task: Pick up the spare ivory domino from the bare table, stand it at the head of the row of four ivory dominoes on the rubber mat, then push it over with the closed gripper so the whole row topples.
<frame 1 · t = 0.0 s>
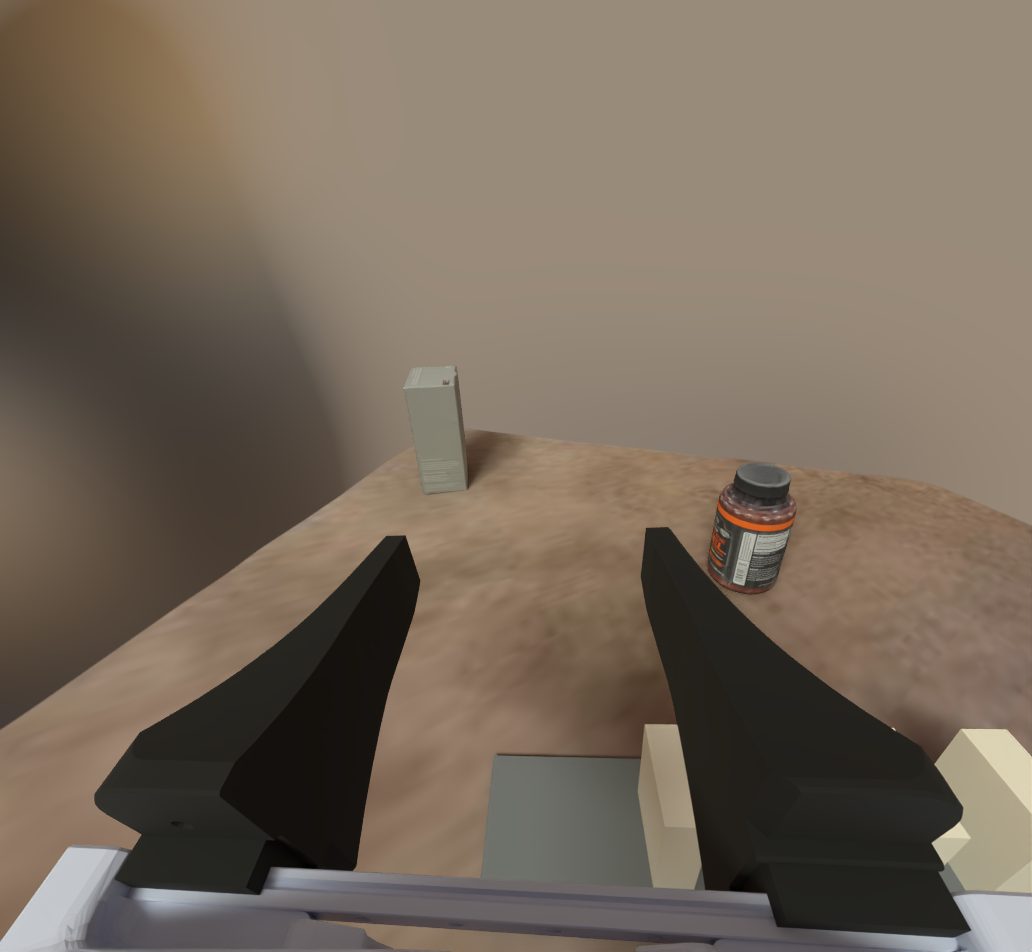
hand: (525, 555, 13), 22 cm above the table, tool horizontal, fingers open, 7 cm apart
mat: (756, 844, 23), on the table
domino 4: (856, 844, 22), resting on mat
supplement bottle: (739, 575, 41), on the table
domino 5: (959, 848, 22), resting on mat
skincare box: (449, 480, 62), on the table
domino 2: (663, 836, 24), resting on mat
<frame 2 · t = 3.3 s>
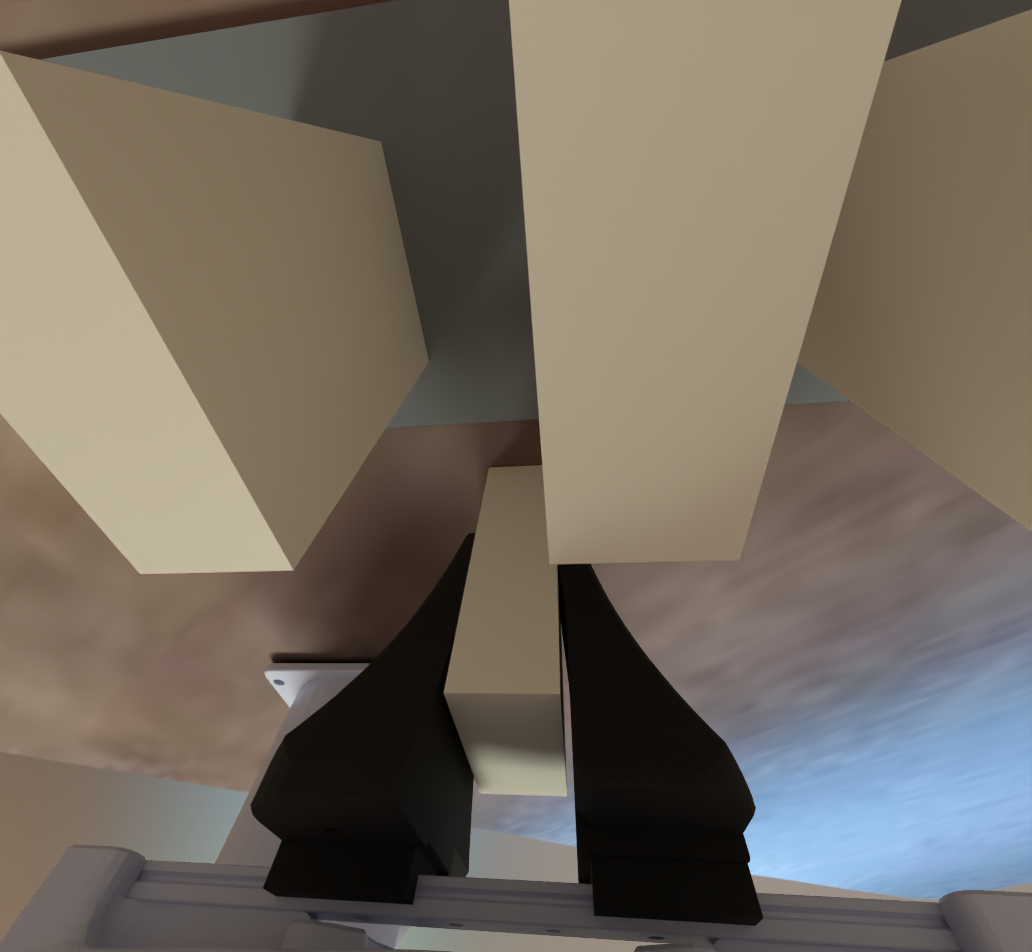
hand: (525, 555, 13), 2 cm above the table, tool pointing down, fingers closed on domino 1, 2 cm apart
mat: (587, 245, 9), on the table
domino 4: (839, 223, 9), resting on mat
domino 3: (589, 248, 9), resting on mat
domino 1: (526, 520, 14), on the table, touching gripper
domino 2: (365, 270, 10), resting on mat
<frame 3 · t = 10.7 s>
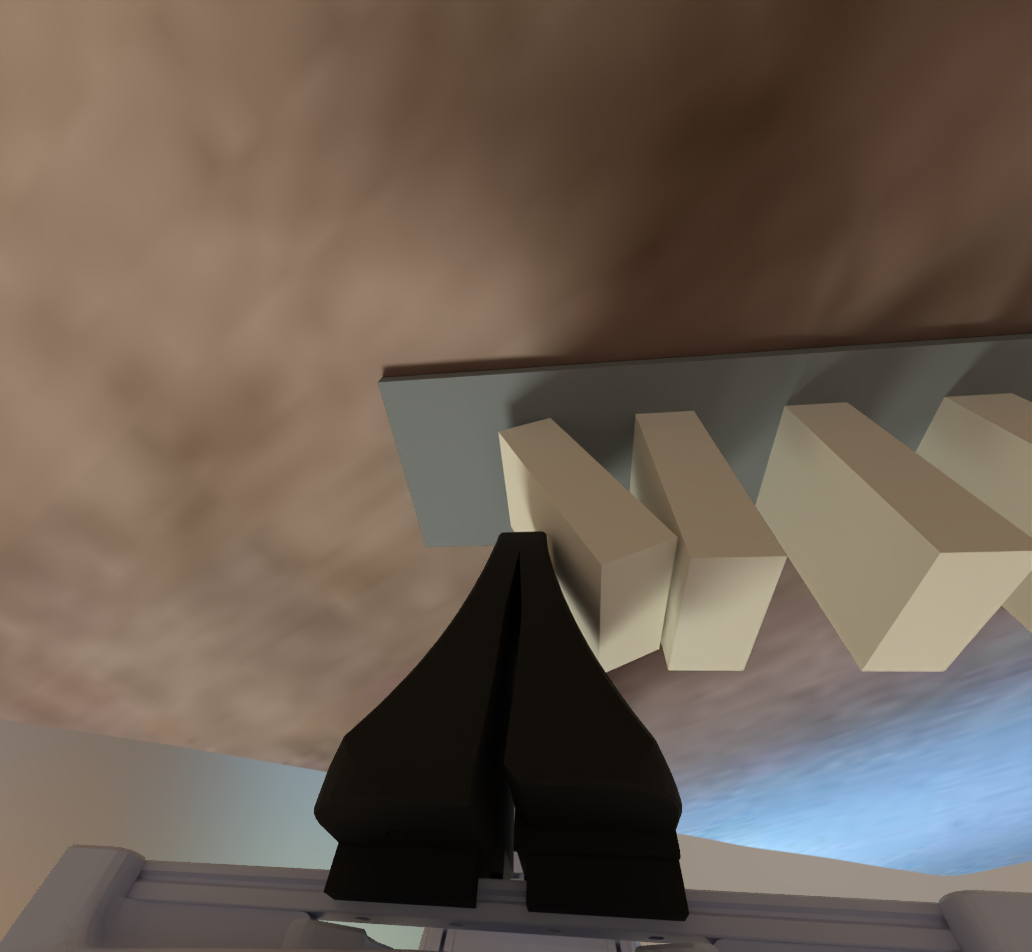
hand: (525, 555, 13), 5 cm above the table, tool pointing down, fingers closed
mat: (791, 452, 16), on the table
domino 4: (945, 451, 15), resting on mat
domino 3: (797, 458, 16), resting on mat
domino 1: (529, 475, 16), point 1 cm above the table, tilted 24°, touching mat
domino 2: (658, 464, 16), resting on mat
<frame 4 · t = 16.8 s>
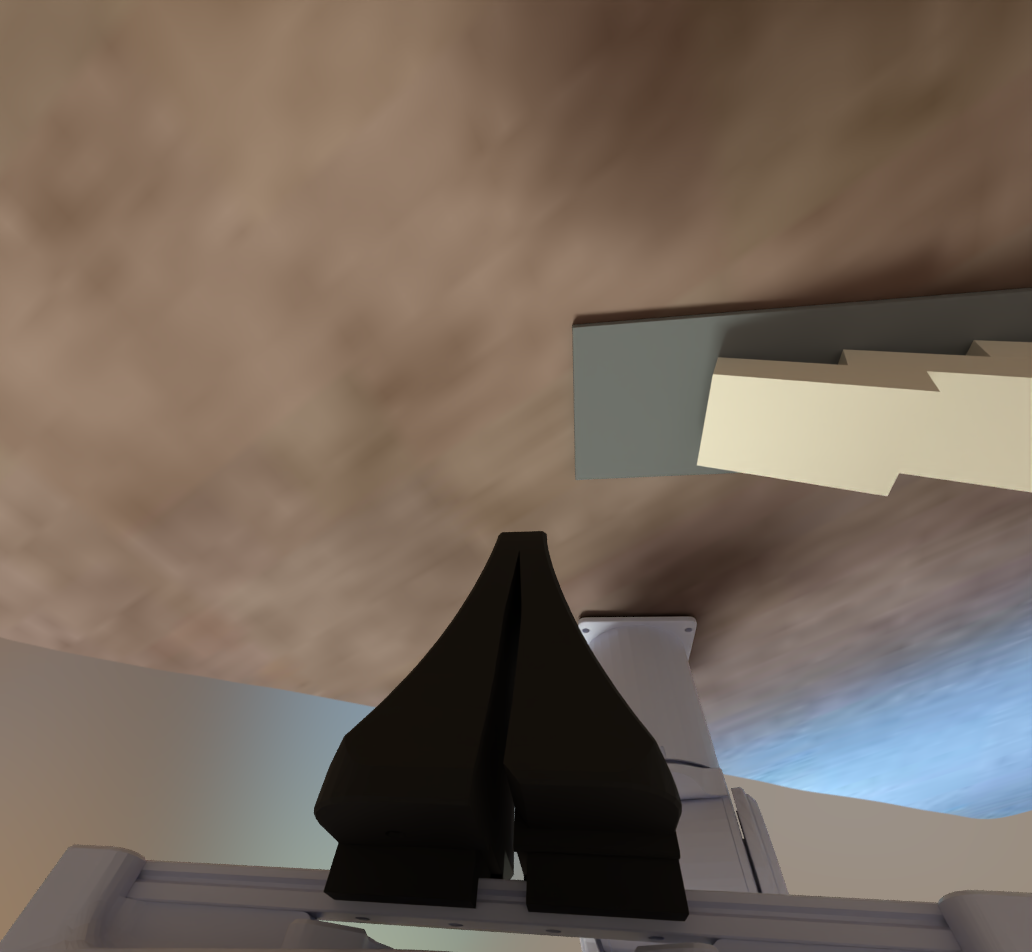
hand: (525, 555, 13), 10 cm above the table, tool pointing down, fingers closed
mat: (906, 387, 19), on the table
domino 3: (954, 399, 18), point 1 cm above the table, tilted 67°, touching domino 2, domino 4, mat
domino 1: (707, 412, 19), point 1 cm above the table, tilted 67°, touching domino 2, mat
domino 2: (828, 406, 18), point 1 cm above the table, tilted 67°, touching domino 1, domino 3, mat
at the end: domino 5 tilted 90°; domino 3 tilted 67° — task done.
